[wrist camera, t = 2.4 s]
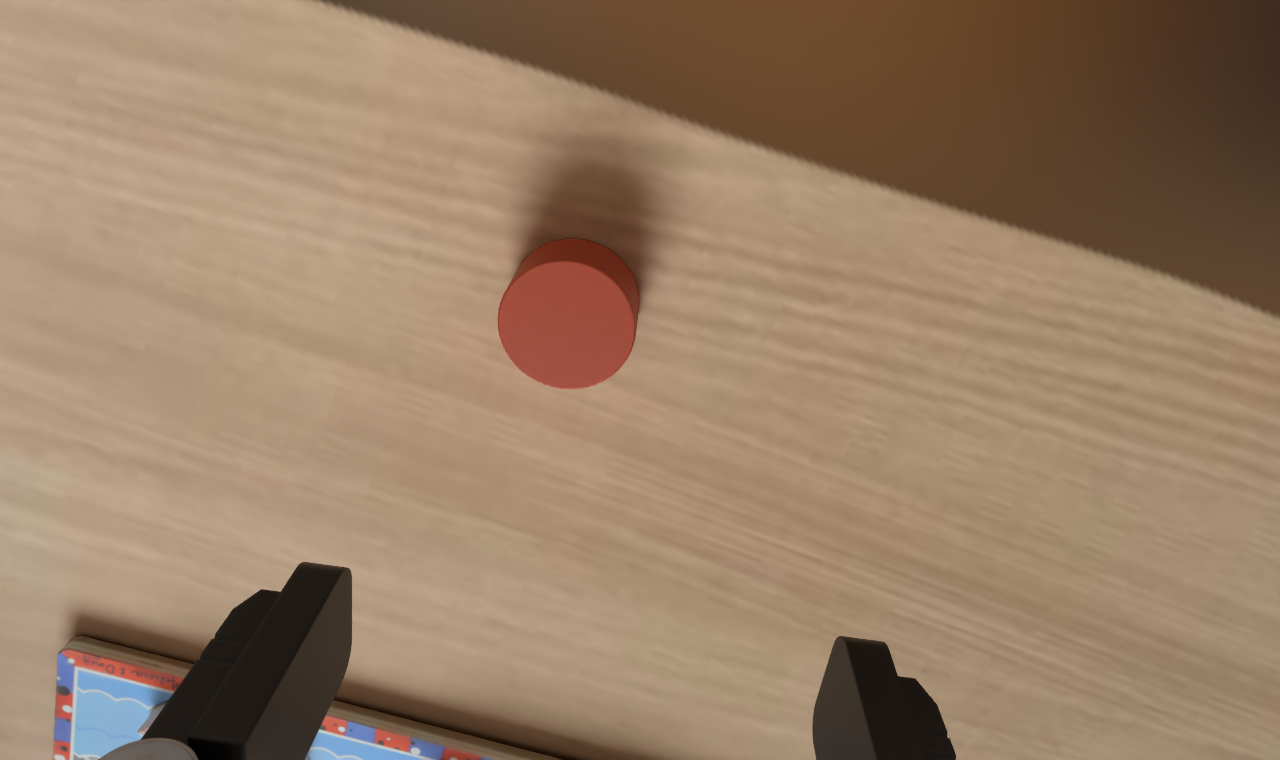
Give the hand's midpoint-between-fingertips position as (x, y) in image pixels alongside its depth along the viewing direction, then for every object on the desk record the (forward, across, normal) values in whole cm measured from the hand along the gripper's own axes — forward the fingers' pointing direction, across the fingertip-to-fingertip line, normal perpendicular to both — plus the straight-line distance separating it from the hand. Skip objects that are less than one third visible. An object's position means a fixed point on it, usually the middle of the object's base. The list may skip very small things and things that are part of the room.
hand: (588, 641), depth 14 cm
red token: (+15, +2, 0) cm, 16 cm away
